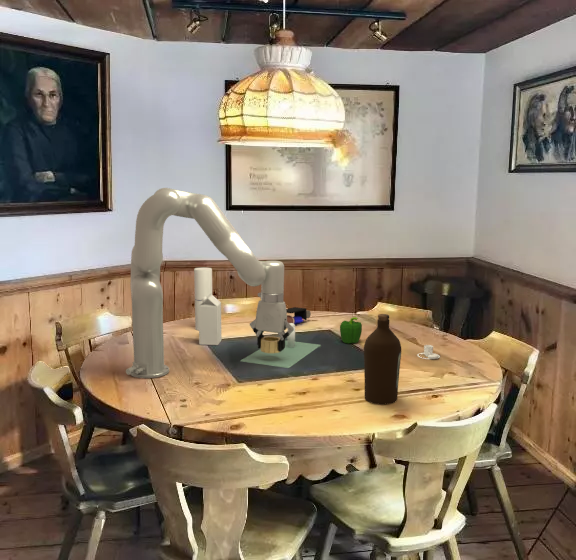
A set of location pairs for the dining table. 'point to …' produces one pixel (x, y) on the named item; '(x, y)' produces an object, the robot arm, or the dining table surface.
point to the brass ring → (270, 344)
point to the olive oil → (382, 363)
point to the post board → (283, 353)
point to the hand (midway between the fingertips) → (271, 348)
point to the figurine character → (297, 315)
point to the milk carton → (210, 321)
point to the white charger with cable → (429, 352)
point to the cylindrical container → (201, 289)
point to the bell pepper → (350, 331)
